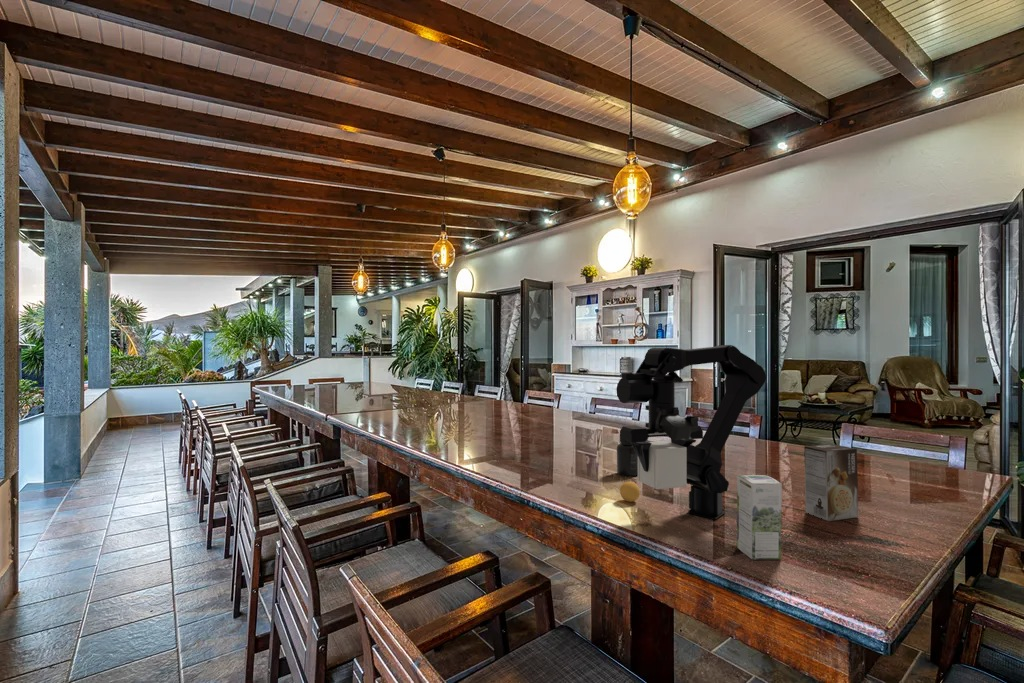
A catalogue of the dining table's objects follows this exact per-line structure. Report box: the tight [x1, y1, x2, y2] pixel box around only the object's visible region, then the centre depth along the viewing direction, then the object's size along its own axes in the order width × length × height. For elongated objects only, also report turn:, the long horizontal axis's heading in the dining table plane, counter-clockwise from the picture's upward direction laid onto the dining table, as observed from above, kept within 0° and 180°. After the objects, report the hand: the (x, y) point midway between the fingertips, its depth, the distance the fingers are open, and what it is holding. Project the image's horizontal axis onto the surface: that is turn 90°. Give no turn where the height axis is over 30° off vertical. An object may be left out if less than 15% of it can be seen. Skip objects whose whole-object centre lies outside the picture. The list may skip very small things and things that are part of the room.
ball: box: [619, 481, 641, 503], centre depth 124 cm, size 5×5×5 cm
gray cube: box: [637, 440, 688, 490], centre depth 111 cm, size 8×8×9 cm
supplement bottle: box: [616, 437, 638, 477], centre depth 151 cm, size 7×7×12 cm
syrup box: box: [736, 474, 783, 561], centre depth 92 cm, size 6×6×14 cm
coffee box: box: [803, 443, 859, 522], centre depth 114 cm, size 9×6×16 cm
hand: (661, 470), depth 111 cm, fingers closed on gray cube, 8 cm apart
